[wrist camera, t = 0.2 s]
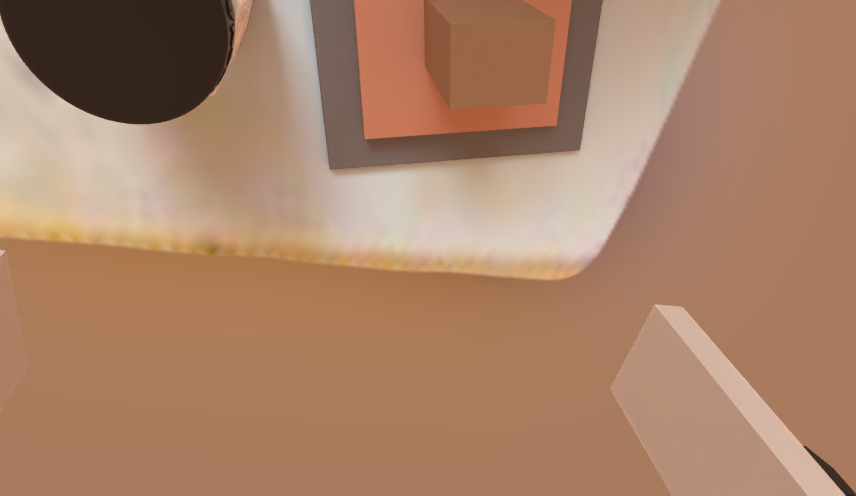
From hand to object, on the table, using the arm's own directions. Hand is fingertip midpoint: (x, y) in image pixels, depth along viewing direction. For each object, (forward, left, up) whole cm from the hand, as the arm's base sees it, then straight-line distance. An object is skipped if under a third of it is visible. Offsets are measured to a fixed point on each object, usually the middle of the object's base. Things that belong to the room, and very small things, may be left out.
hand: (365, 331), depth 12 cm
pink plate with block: (0, +8, -27) cm, 28 cm away
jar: (-3, -8, -27) cm, 29 cm away
